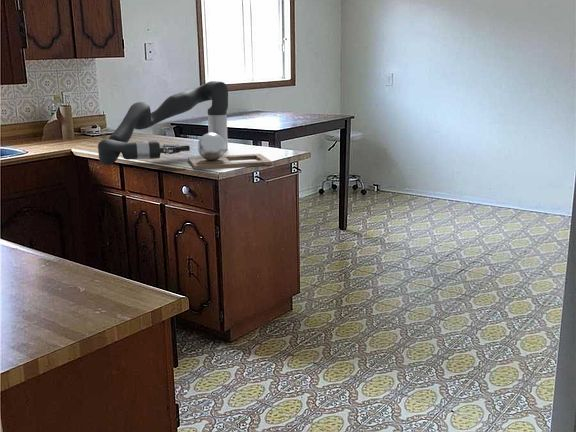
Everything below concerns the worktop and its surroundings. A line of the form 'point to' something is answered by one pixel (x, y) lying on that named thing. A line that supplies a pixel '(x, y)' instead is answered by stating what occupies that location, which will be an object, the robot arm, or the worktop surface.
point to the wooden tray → (225, 163)
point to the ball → (211, 146)
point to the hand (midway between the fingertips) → (189, 148)
